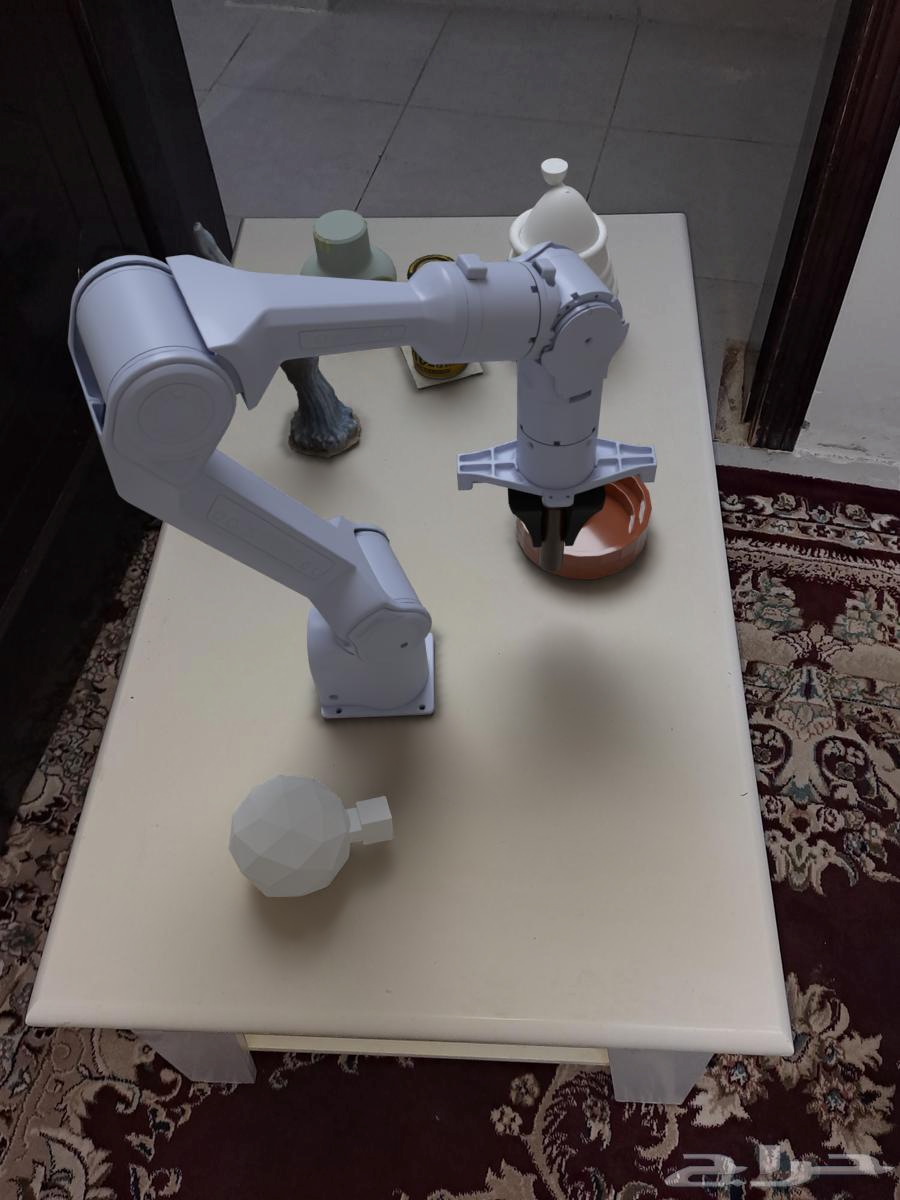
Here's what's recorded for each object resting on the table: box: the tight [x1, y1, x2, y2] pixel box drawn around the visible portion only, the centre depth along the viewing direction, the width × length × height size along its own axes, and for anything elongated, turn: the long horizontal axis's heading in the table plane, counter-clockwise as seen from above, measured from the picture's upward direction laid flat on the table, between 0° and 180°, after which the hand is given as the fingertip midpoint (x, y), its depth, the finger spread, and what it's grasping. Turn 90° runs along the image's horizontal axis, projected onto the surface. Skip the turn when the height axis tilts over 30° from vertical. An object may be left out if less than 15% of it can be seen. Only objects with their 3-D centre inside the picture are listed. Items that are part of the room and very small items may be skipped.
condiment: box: [400, 253, 484, 389], centre depth 103 cm, size 7×8×12 cm
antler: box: [193, 221, 362, 459], centre depth 92 cm, size 12×8×25 cm
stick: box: [539, 497, 567, 573], centre depth 80 cm, size 2×2×8 cm
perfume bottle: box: [228, 774, 394, 898], centre depth 74 cm, size 9×9×12 cm
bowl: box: [515, 476, 653, 580], centre depth 92 cm, size 12×12×4 cm
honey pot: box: [507, 157, 620, 300], centre depth 103 cm, size 13×13×18 cm
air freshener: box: [299, 209, 398, 282], centre depth 110 cm, size 11×8×10 cm
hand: (552, 537), depth 80 cm, fingers closed on stick, 2 cm apart
